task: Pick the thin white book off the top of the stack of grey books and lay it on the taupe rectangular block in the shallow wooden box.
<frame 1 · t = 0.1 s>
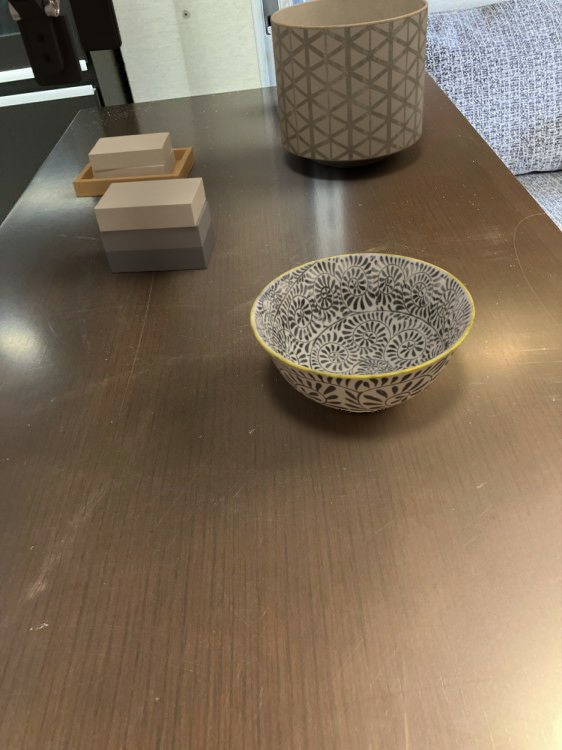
hand: (83, 65, 46), 22 cm above the table, tool pointing down, fingers open, 9 cm apart
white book: (154, 215, 66), point 5 cm above the table, touching grey books
shallow wooden box: (138, 178, 88), on the table
taupe rectangular block: (133, 158, 86), in the shallow wooden box, point 3 cm above the table
grey books: (164, 257, 69), on the table
bowl: (360, 386, 50), on the table
planter: (351, 158, 87), on the table
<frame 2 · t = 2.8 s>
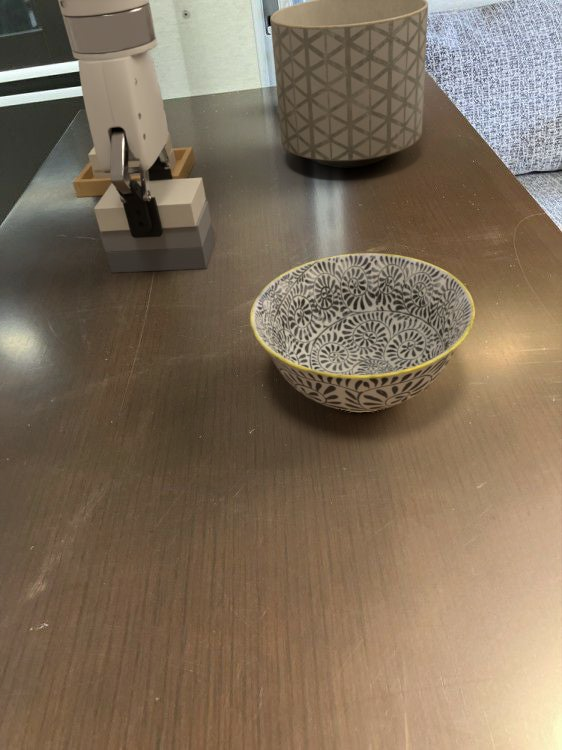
hand: (155, 218, 66), 5 cm above the table, tool pointing down, fingers closed on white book, 6 cm apart
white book: (154, 215, 66), point 5 cm above the table, touching grey books, gripper
everything else where it was.
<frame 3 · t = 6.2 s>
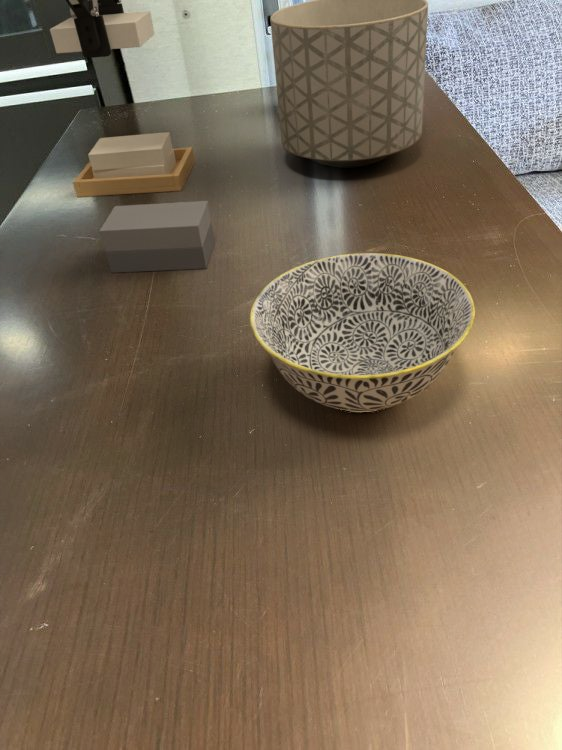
hand: (107, 47, 74), 18 cm above the table, tool pointing down, fingers closed on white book, 6 cm apart
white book: (106, 43, 73), point 18 cm above the table, touching gripper
everything else where it was.
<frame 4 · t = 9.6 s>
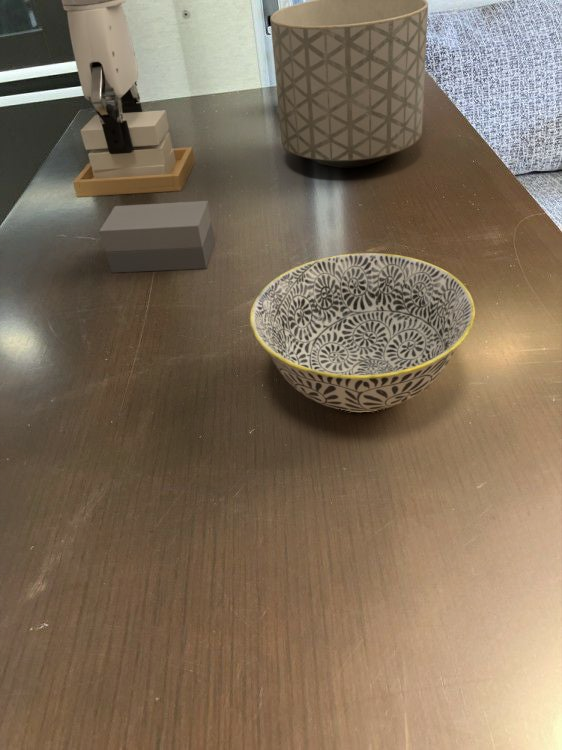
hand: (128, 142, 85), 5 cm above the table, tool pointing down, fingers closed on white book, 6 cm apart
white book: (128, 139, 85), point 6 cm above the table, touching gripper
everything else where it was.
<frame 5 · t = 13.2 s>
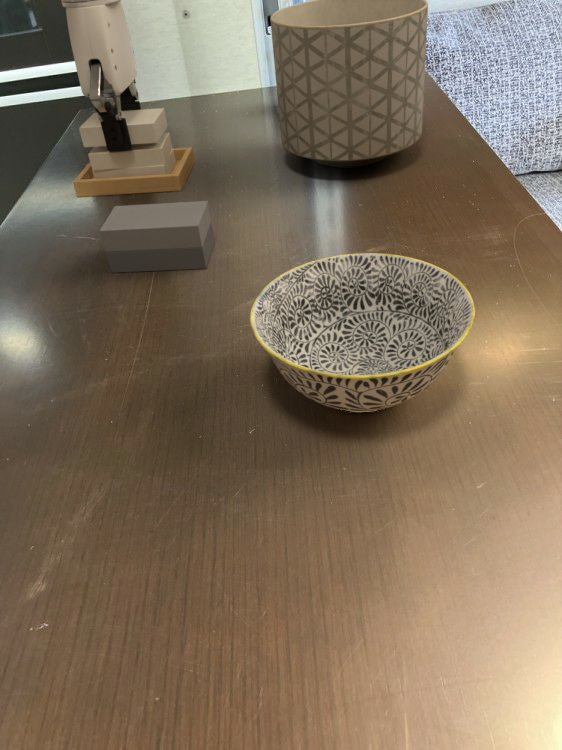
hand: (127, 139, 85), 5 cm above the table, tool pointing down, fingers closed on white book, 6 cm apart
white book: (126, 136, 84), point 6 cm above the table, touching gripper
everything else where it was.
when the fingers open (6 cm above the table, at t = 16.7 s): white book stays where it is, resting on taupe rectangular block.
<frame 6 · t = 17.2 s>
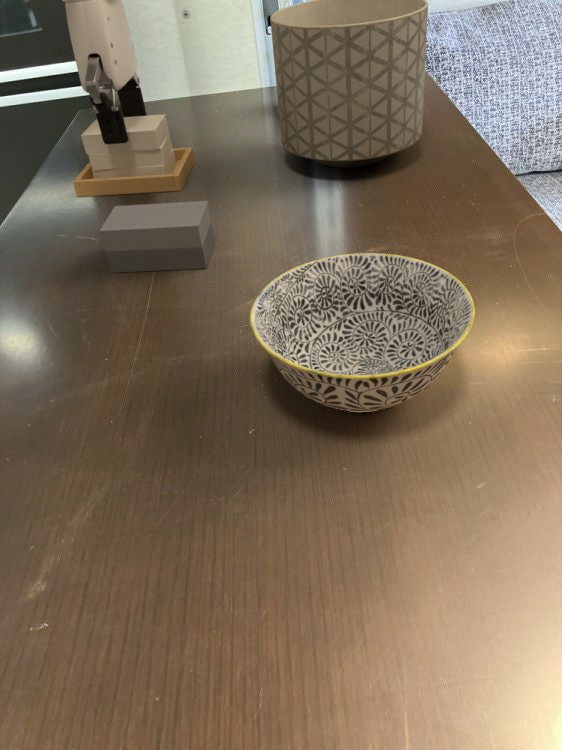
hand: (126, 130, 84), 7 cm above the table, tool pointing down, fingers open, 9 cm apart
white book: (128, 143, 85), point 5 cm above the table, touching taupe rectangular block
everything else where it was.
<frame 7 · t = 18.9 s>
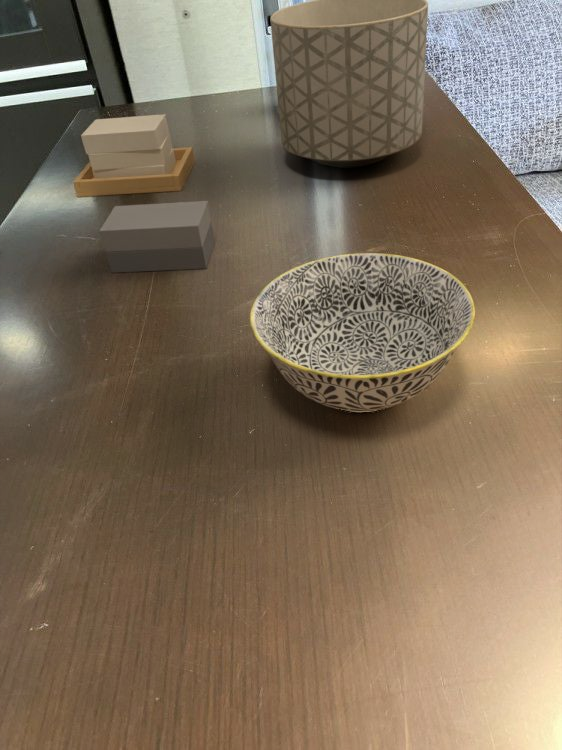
nothing on the table moved.
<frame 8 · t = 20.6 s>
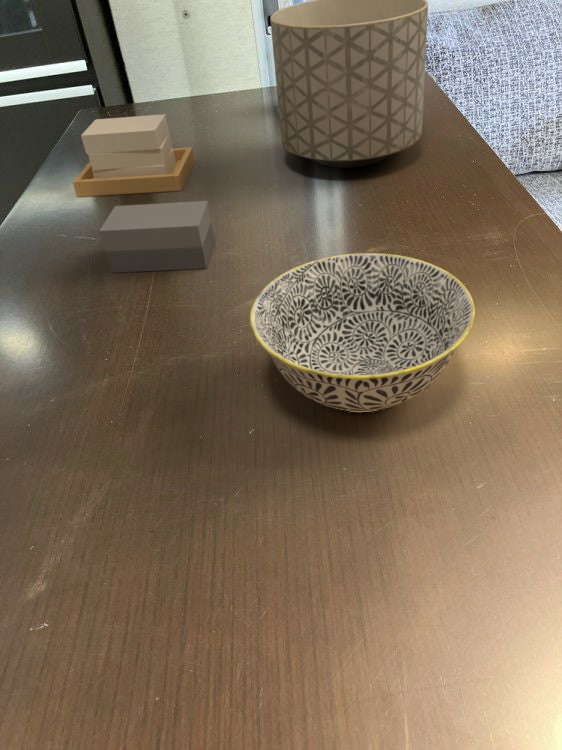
nothing on the table moved.
at the end: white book 0.1 cm off-centre on the shallow wooden box, point 5.0 cm above the shallow wooden box's base; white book tilted 0°; the gripper is holding nothing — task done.
